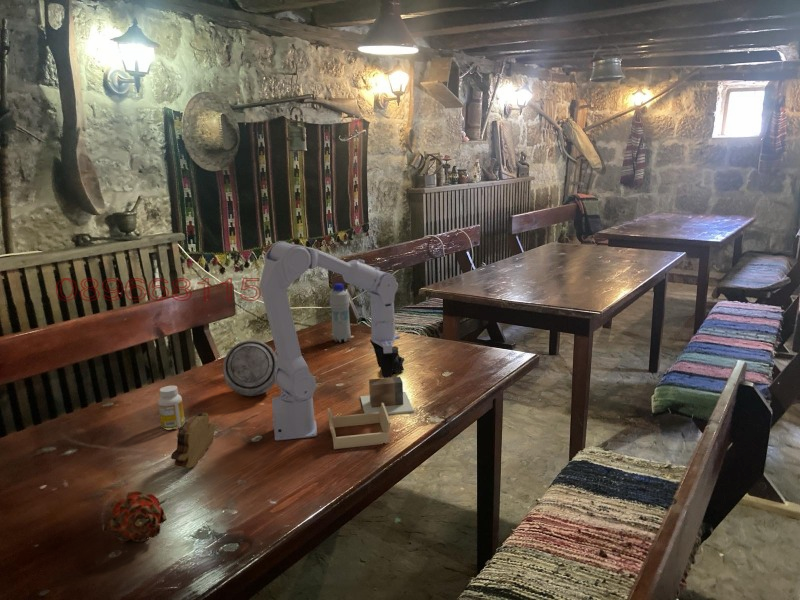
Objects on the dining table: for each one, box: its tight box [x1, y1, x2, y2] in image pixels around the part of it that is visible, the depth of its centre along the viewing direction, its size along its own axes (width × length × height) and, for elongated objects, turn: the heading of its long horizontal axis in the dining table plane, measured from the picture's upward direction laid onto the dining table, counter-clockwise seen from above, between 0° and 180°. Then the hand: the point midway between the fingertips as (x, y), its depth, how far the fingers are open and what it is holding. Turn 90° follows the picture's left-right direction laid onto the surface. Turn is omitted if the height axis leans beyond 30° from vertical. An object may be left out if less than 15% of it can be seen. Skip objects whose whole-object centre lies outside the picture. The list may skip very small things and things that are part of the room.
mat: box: [359, 391, 415, 416], centre depth 154 cm, size 12×12×1 cm
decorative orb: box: [222, 339, 278, 397], centre depth 163 cm, size 15×14×15 cm
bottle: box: [329, 282, 352, 343], centre depth 205 cm, size 7×7×20 cm
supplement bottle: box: [157, 385, 186, 428], centre depth 145 cm, size 5×5×10 cm
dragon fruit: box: [101, 490, 167, 543], centre depth 104 cm, size 8×8×12 cm
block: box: [368, 376, 404, 408], centre depth 154 cm, size 8×4×6 cm, turn 99°
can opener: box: [392, 345, 405, 374], centre depth 181 cm, size 18×7×6 cm, turn 177°
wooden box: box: [326, 403, 392, 450], centre depth 138 cm, size 13×11×5 cm
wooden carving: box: [170, 412, 216, 469], centre depth 128 cm, size 16×5×10 cm, turn 178°
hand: (384, 371), depth 152 cm, fingers open, 7 cm apart
